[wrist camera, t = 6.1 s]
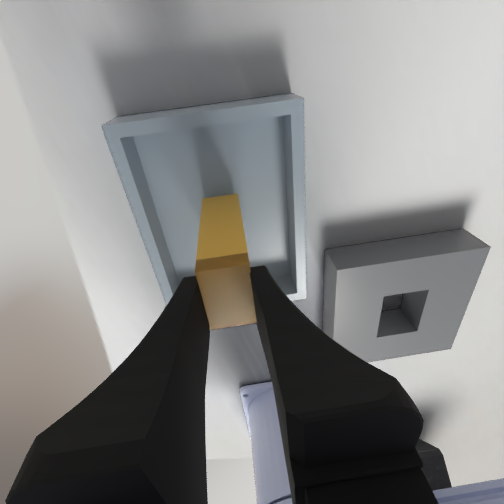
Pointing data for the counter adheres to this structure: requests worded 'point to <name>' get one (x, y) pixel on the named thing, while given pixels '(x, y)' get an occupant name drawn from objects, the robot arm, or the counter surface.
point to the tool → (433, 466)
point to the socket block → (398, 282)
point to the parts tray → (217, 182)
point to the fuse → (224, 264)
